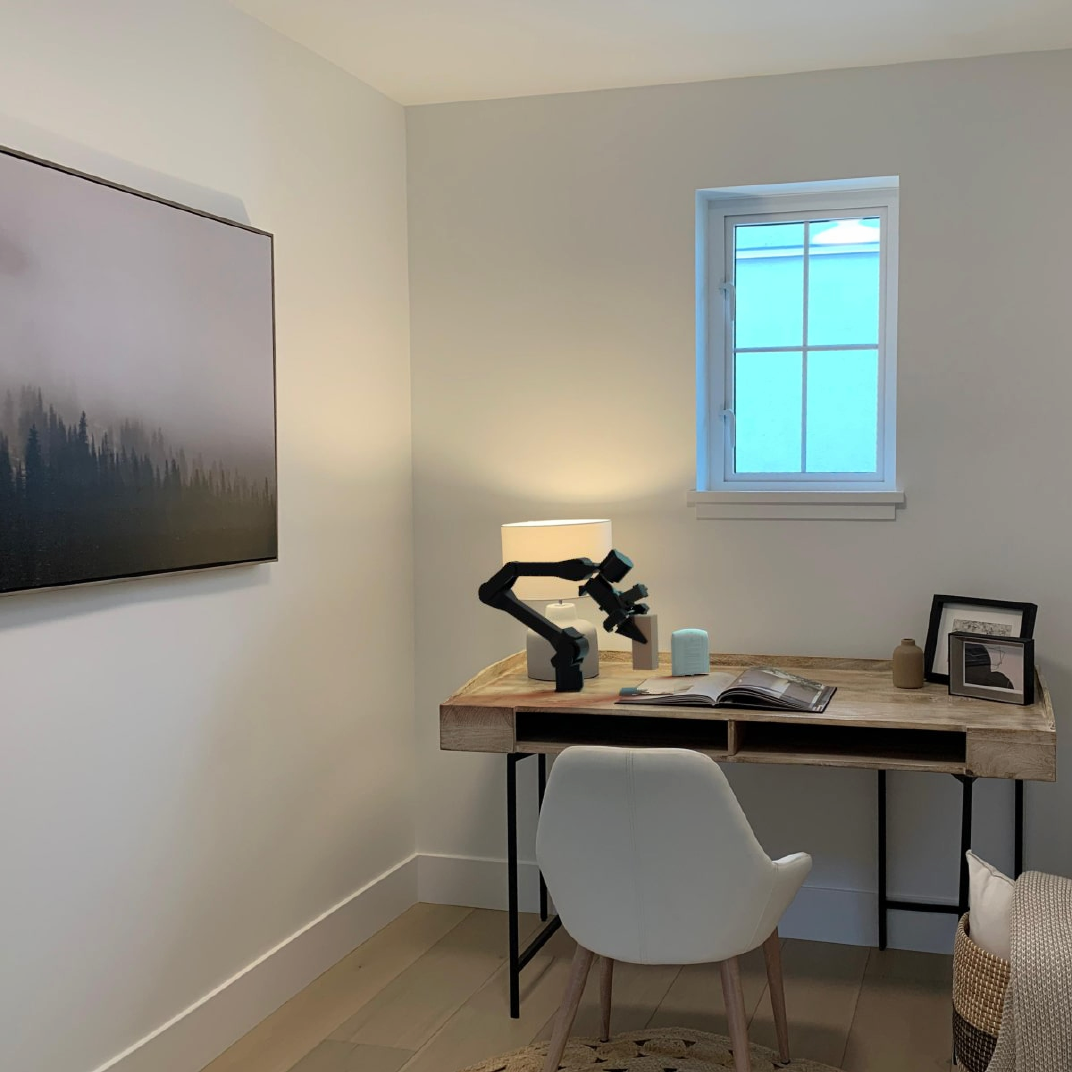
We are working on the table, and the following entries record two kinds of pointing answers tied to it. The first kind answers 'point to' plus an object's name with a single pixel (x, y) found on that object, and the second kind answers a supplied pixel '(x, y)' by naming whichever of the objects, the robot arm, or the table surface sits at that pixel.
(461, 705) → the table surface
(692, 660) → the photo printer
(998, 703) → the table surface
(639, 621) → the beige rectangular block
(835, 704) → the table surface
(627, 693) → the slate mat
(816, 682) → the table surface
